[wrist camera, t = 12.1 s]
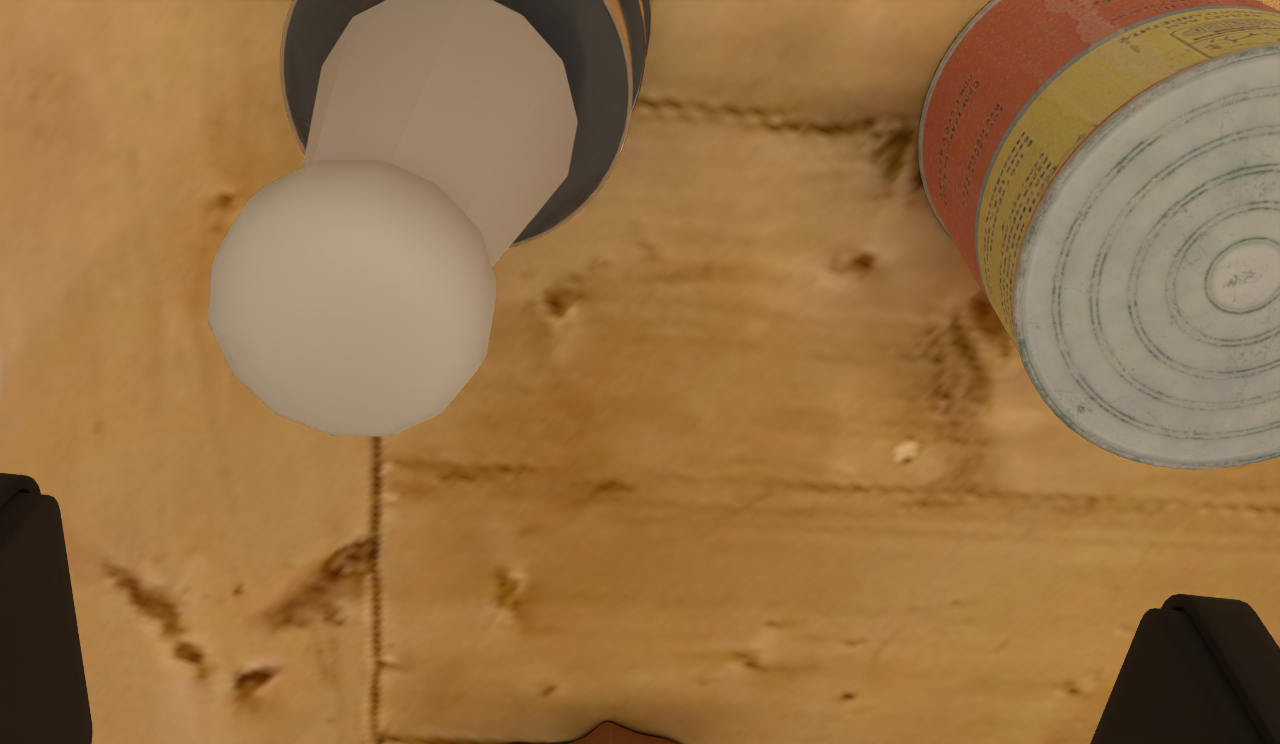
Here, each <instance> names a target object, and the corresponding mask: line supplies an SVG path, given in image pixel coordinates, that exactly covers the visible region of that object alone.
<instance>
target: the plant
mask: <svg viewBox="0 0 1280 744" xmlns="http://www.w3.org/2000/svg"><path fill="white" fill-rule="evenodd" d="M568 744H676V743H674V742H672V741H669V740H666V739H662V738H657V737H652V736H647V735H643V734H639V733H636V732H633V731H631V730H628V729H625V728H622V727H620V726H618V725H616V724H614V723H611V722H605V723H603V724H601V725H600V726H599V727H597V728H596V729H595V730H593V731H592V732H591V733H590V734H589V735H587V736H585V737H584V738H582V739H580V740H577V741H574V742H571V743H568Z"/></svg>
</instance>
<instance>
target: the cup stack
mask: <svg viewBox="0 0 1280 744" xmlns="http://www.w3.org/2000/svg"><path fill="white" fill-rule="evenodd" d="M384 1H386V0H292V2H291V5H290V8H289V11H288V14H287V18H286V21H285V24H284V29H283V35H282V41H281V48H280V78H281V87H282V95H283V99H284V103H285V107H286V112H287V116H288V119H289V121H290V124H291V127H292V129H293V132H294V135H295V137H296V139H297V141H298V143H299V145H300V147H301V149H302V151H303V153H304V155H305V153H306V147H307V142H308V137H309V131H310V126H311V121H312V116H313V110H314V105H315V100H316V94H317V89H318V84H319V78H320V73H321V68H322V65H323V63H324V62H325V60H326V59H327V57H328V55H329V54H330V52H331V51H332V49H333V47H334V46H335V44H336V43H337V41H338V40H339V38H340V36H341V35H342V33H343V32H344V30H345V29H346V27H347V25H348V24H349V22H350V21H351V19H352V18H353V17H354V16H356V15H358V14H360V13H362V12H364V11H366V10H368V9H370V8H372V7H374V6H376V5H378V4H380V3H382V2H384ZM494 1H496V2H498V3H500V4H502V5H504V6H506V7H508V8H510V9H511V10H513V11H515V12H517V13H519V14H521V15H523V16H524V17H525V18H526V19H527V21H528V22H529V23H530V24H531V25H532V26H533V27H534V29H535V30H536V31H537V32H538V33H539V34H540V35H541V37H542V38H543V39H544V40H545V41H546V42H547V43H548V45H549V46H550V47H551V48H552V49H553V50H554V51H555V52H556V54H557V55H558V56H559V57H560V58H561V59H562V61H563V63H564V67H565V71H566V75H567V79H568V83H569V88H570V92H571V96H572V100H573V104H574V108H575V112H576V116H577V120H578V123H577V128H576V134H575V139H574V145H573V150H572V156H571V161H570V167H569V172H568V176H567V177H566V179H565V180H564V181H563V182H562V183H561V185H560V186H559V187H558V188H557V190H556V191H555V192H554V193H553V195H552V196H551V197H550V198H549V199H548V201H547V202H546V203H545V204H544V206H543V207H542V208H541V209H540V210H539V212H538V213H537V214H536V215H535V217H534V218H533V219H532V220H531V221H530V222H529V224H528V225H527V226H526V227H525V228H524V230H523V231H522V232H521V233H520V234H519V236H518V237H517V238H516V239H515V241H514V242H513V243H512V244H511V245H510V247H509V248H511V247H515V246H519V245H521V244H524V243H527V242H530V241H533V240H536V239H538V238H540V237H542V236H544V235H546V234H548V233H550V232H552V231H554V230H555V229H557V228H558V227H560V226H561V225H563V224H564V223H566V222H567V221H569V220H570V219H572V218H573V217H574V216H575V215H576V214H577V213H578V212H580V211H581V210H582V209H583V208H584V207H585V206H586V205H587V204H588V203H589V202H590V201H591V200H592V199H593V197H594V196H595V195H596V194H597V193H598V192H599V190H600V189H601V188H602V187H603V185H604V183H605V182H606V180H607V179H608V177H609V176H610V174H611V173H612V171H613V169H614V167H615V165H616V163H617V161H618V158H619V156H620V154H621V152H622V149H623V146H624V143H625V140H626V136H627V133H628V130H629V124H630V118H631V114H632V111H633V109H634V107H635V104H636V101H637V98H638V94H639V91H640V88H641V84H642V78H643V72H644V66H645V58H646V55H647V49H648V43H649V37H650V23H651V5H650V0H494Z"/></svg>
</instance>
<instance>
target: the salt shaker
mask: <svg viewBox="0 0 1280 744" xmlns="http://www.w3.org/2000/svg"><path fill="white" fill-rule="evenodd" d="M577 123H578V120H577V116H576V112H575V108H574V104H573V100H572V96H571V92H570V88H569V83H568V79H567V75H566V71H565V67H564V63H563V61H562V59H561V58H560V57H559V56H558V55H557V54H556V52H555V51H554V50H553V49H552V48H551V47H550V46H549V45H548V43H547V42H546V41H545V40H544V39H543V38H542V37H541V35H540V34H539V33H538V32H537V31H536V30H535V29H534V27H533V26H532V25H531V24H530V23H529V22H528V21H527V19H526V18H525V17H524V16H523V15H521V14H519V13H517V12H515V11H513V10H511V9H510V8H508V7H506V6H504V5H502V4H500V3H498V2H496V1H494V0H386V1H384V2H382V3H380V4H378V5H376V6H374V7H372V8H370V9H368V10H366V11H364V12H362V13H360V14H358V15H356V16H354V17H353V18H352V19H351V21H350V22H349V24H348V25H347V27H346V29H345V30H344V32H343V33H342V35H341V36H340V38H339V40H338V41H337V43H336V44H335V46H334V47H333V49H332V51H331V52H330V54H329V55H328V57H327V59H326V60H325V62H324V63H323V65H322V68H321V73H320V78H319V84H318V89H317V94H316V100H315V105H314V110H313V116H312V121H311V126H310V131H309V137H308V142H307V147H306V153H305V158H304V163H303V167H302V168H300V169H298V170H296V171H294V172H292V173H290V174H288V175H286V176H283V177H281V178H279V179H277V180H275V181H273V182H271V183H269V184H267V185H265V186H263V187H262V188H261V189H260V190H259V191H258V192H256V193H255V194H254V195H253V196H252V197H251V198H250V199H249V200H248V202H247V203H246V205H245V206H244V208H243V210H242V211H241V213H240V214H239V216H238V217H237V219H236V220H235V222H234V224H233V225H232V227H231V228H230V230H229V231H228V233H227V234H226V236H225V238H224V239H223V241H222V242H221V244H220V245H219V247H218V250H217V253H216V256H215V259H214V262H213V265H212V269H211V285H210V301H209V317H208V323H209V325H210V327H211V330H212V332H213V334H214V336H215V338H216V340H217V342H218V344H219V346H220V349H221V351H222V353H223V355H224V357H225V359H226V361H227V363H228V366H229V368H230V370H231V372H232V374H233V375H234V376H235V377H236V378H237V379H238V380H239V381H240V382H241V383H243V384H244V385H245V386H246V387H247V388H248V389H249V390H250V391H251V392H252V393H253V394H255V395H256V396H257V397H258V398H259V399H260V400H261V401H262V402H263V403H264V404H265V405H266V406H268V407H269V408H270V409H271V410H272V411H273V412H274V413H275V414H276V415H278V416H281V417H284V418H286V419H289V420H292V421H294V422H297V423H300V424H302V425H305V426H308V427H311V428H313V429H316V430H319V431H321V432H324V433H327V434H329V435H332V436H393V435H395V434H397V433H400V432H402V431H404V430H406V429H408V428H411V427H413V426H415V425H417V424H420V423H422V422H424V421H426V420H428V419H431V418H433V417H435V416H437V415H440V414H441V413H442V412H443V411H444V410H445V408H446V407H447V406H448V405H449V404H450V402H451V401H452V400H453V399H454V398H455V397H456V395H457V394H458V393H459V392H460V391H461V389H462V388H463V387H464V386H465V385H466V384H467V382H468V381H469V380H470V379H471V378H472V376H473V375H474V374H475V373H476V371H477V370H478V368H479V367H480V365H481V364H482V363H483V361H484V360H485V358H486V357H487V351H488V345H489V339H490V333H491V327H492V320H493V314H494V308H495V302H496V294H497V282H496V279H495V276H494V273H493V269H492V267H493V266H494V265H495V264H496V262H497V261H498V260H499V259H500V258H501V256H502V255H503V254H504V253H505V251H506V250H507V249H508V248H509V247H510V245H511V244H512V243H513V242H514V241H515V239H516V238H517V237H518V236H519V234H520V233H521V232H522V231H523V230H524V228H525V227H526V226H527V225H528V224H529V222H530V221H531V220H532V219H533V218H534V217H535V215H536V214H537V213H538V212H539V210H540V209H541V208H542V207H543V206H544V204H545V203H546V202H547V201H548V199H549V198H550V197H551V196H552V195H553V193H554V192H555V191H556V190H557V188H558V187H559V186H560V185H561V183H562V182H563V181H564V180H565V179H566V177H567V176H568V172H569V167H570V161H571V156H572V150H573V145H574V139H575V134H576V128H577Z"/></svg>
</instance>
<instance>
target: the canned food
mask: <svg viewBox="0 0 1280 744" xmlns="http://www.w3.org/2000/svg"><path fill="white" fill-rule="evenodd" d="M918 158H919V167H920V174H921V178H922V182H923V186H924V190H925V193H926V195H927V198H928V201H929V204H930V206H931V207H932V209H933V211H934V213H935V215H936V217H937V219H938V220H939V222H940V224H941V225H942V227H943V228H944V230H945V231H946V232H947V233H948V235H949V236H950V237H951V238H952V239H953V241H954V242H955V244H956V246H957V247H958V249H959V251H960V253H961V254H962V256H963V258H964V259H965V261H966V263H967V264H968V266H969V268H970V270H971V271H972V273H973V275H974V276H975V278H976V280H977V282H978V283H979V285H980V287H981V288H982V290H983V292H984V293H985V295H986V297H987V299H988V300H989V302H990V304H991V305H992V307H993V309H994V311H995V312H996V314H997V316H998V317H999V319H1000V321H1001V323H1002V324H1003V326H1004V328H1005V329H1006V331H1007V333H1008V334H1009V336H1010V338H1011V340H1012V341H1013V343H1014V345H1015V346H1016V348H1017V350H1018V352H1019V353H1020V356H1021V359H1022V362H1023V364H1024V367H1025V369H1026V371H1027V373H1028V375H1029V377H1030V379H1031V381H1032V383H1033V385H1034V387H1035V388H1036V390H1037V391H1038V393H1039V394H1040V396H1041V397H1042V399H1043V400H1044V402H1045V403H1046V404H1047V405H1048V407H1049V408H1050V409H1051V410H1052V411H1053V412H1054V414H1055V415H1056V416H1057V417H1058V418H1059V419H1060V420H1062V421H1063V422H1064V423H1065V424H1066V425H1067V426H1068V427H1069V428H1070V429H1072V430H1073V431H1074V432H1076V433H1077V434H1079V435H1080V436H1081V437H1083V438H1084V439H1086V440H1087V441H1089V442H1091V443H1093V444H1094V445H1096V446H1098V447H1100V448H1102V449H1104V450H1106V451H1108V452H1111V453H1113V454H1115V455H1117V456H1121V457H1124V458H1127V459H1130V460H1133V461H1136V462H1140V463H1145V464H1149V465H1153V466H1160V467H1168V468H1176V469H1217V468H1226V467H1235V466H1241V465H1246V464H1251V463H1257V462H1261V461H1265V460H1268V459H1272V458H1276V457H1279V456H1280V11H1278V10H1276V9H1274V8H1272V7H1269V6H1267V5H1265V4H1263V3H1261V2H1259V1H1257V0H992V1H991V2H990V3H988V4H987V5H986V6H985V7H984V8H983V9H982V10H981V11H980V12H979V13H978V14H977V15H976V16H975V17H974V18H973V19H972V20H971V21H970V22H969V23H968V24H967V25H966V27H965V28H964V29H963V30H962V31H961V32H960V34H959V35H958V37H957V38H956V39H955V41H954V42H953V43H952V45H951V46H950V48H949V49H948V51H947V53H946V54H945V56H944V58H943V59H942V61H941V63H940V65H939V67H938V69H937V71H936V73H935V75H934V77H933V79H932V82H931V84H930V87H929V90H928V92H927V95H926V99H925V102H924V106H923V110H922V114H921V120H920V126H919V138H918Z"/></svg>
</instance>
